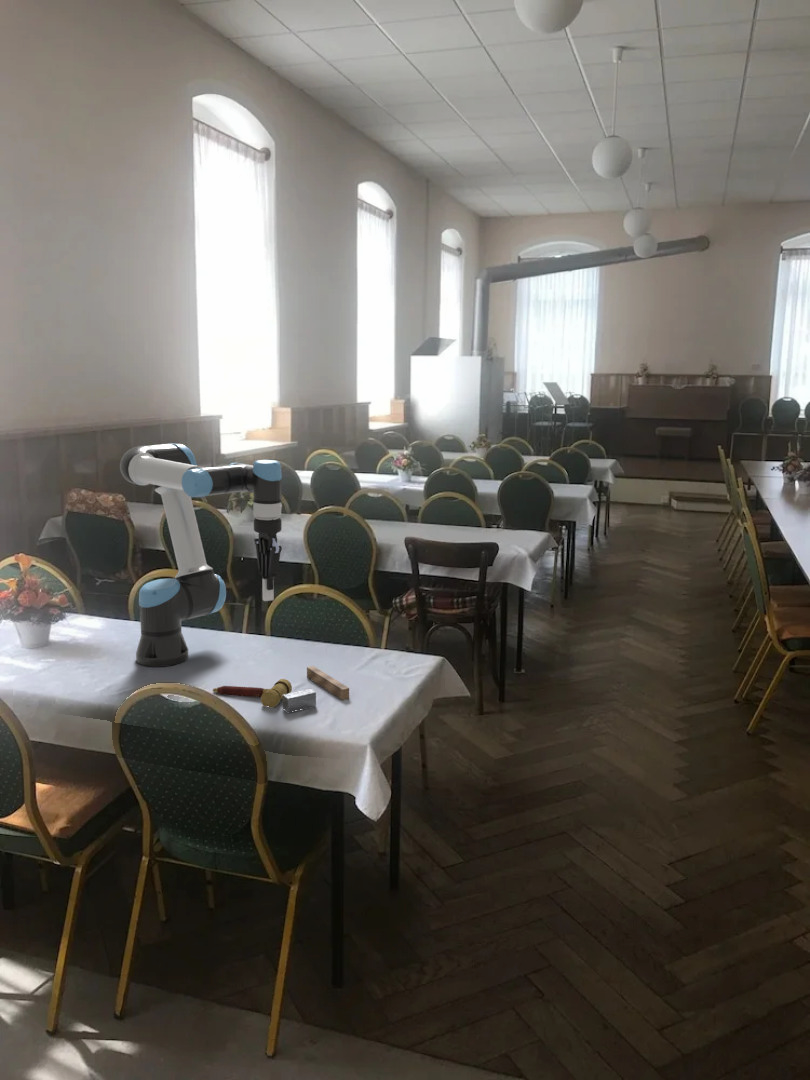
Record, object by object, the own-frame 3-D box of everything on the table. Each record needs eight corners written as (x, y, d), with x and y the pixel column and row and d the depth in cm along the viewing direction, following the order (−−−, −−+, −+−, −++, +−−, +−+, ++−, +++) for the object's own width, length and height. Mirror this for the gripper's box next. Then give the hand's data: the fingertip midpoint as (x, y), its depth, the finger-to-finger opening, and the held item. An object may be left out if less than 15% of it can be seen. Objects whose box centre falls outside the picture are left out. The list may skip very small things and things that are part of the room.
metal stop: (283, 709, 219) (282, 694, 219) (310, 702, 224) (310, 688, 223) (288, 713, 217) (288, 698, 216) (316, 706, 221) (315, 692, 221)
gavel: (203, 688, 225) (220, 675, 235) (204, 704, 226) (222, 691, 235) (276, 692, 219) (291, 679, 229) (277, 709, 220) (292, 695, 230)
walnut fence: (306, 677, 242) (306, 667, 241) (313, 675, 243) (313, 665, 243) (342, 700, 226) (342, 689, 225) (349, 698, 227) (349, 687, 226)
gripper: (290, 520, 230) (290, 604, 235) (270, 511, 240) (270, 592, 246) (264, 522, 226) (265, 608, 231) (245, 514, 236) (246, 595, 241)
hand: (268, 599), depth 238 cm, fingers closed
